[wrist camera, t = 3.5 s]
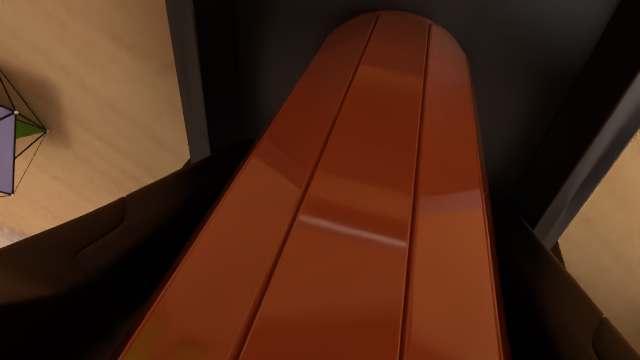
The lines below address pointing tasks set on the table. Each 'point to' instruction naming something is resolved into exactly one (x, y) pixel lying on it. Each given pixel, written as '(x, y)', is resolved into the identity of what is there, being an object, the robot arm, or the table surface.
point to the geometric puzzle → (13, 142)
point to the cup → (346, 219)
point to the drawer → (486, 70)
